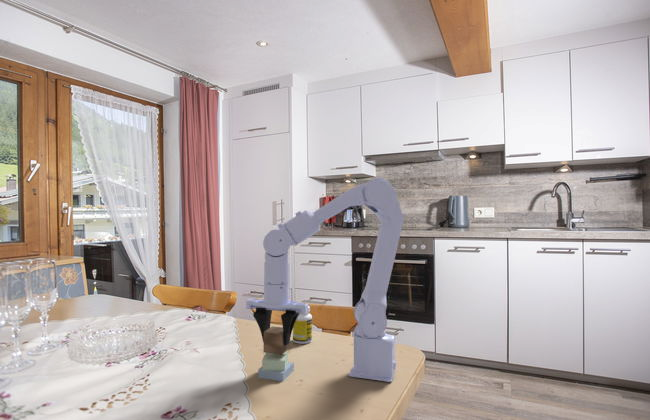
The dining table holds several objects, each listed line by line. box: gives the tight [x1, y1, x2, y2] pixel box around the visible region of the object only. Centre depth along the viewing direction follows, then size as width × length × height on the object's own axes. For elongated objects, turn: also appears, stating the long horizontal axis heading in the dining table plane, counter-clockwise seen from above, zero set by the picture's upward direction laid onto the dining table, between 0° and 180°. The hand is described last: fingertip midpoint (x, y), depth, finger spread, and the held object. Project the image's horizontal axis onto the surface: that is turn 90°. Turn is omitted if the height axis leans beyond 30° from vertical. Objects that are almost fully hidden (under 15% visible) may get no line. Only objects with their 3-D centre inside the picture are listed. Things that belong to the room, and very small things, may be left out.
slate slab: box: [257, 361, 295, 382], centre depth 83 cm, size 6×6×2 cm
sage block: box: [261, 351, 289, 371], centre depth 84 cm, size 5×5×2 cm
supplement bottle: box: [292, 305, 313, 345], centre depth 105 cm, size 5×5×10 cm
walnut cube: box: [263, 326, 291, 355], centre depth 84 cm, size 4×4×4 cm
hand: (276, 342), depth 84 cm, fingers closed on walnut cube, 4 cm apart
